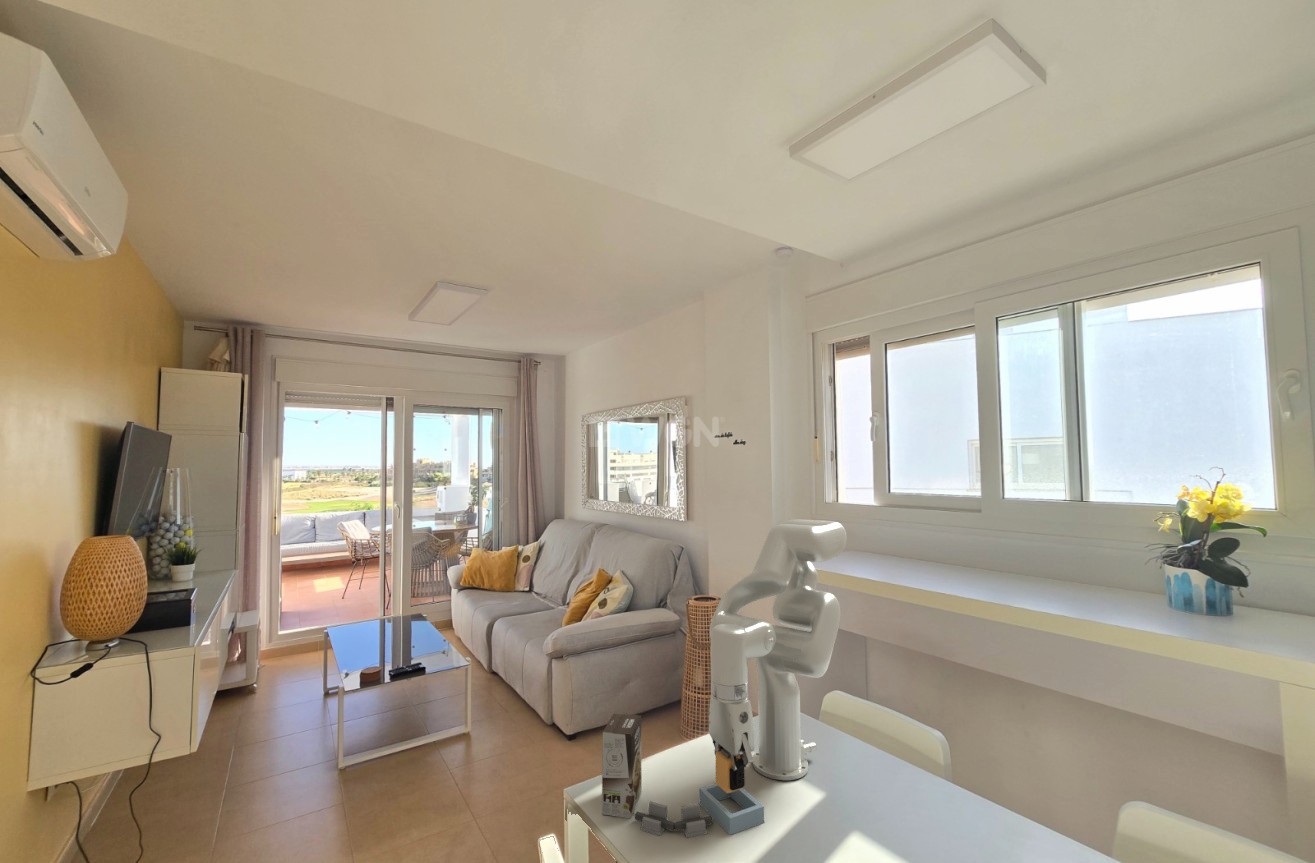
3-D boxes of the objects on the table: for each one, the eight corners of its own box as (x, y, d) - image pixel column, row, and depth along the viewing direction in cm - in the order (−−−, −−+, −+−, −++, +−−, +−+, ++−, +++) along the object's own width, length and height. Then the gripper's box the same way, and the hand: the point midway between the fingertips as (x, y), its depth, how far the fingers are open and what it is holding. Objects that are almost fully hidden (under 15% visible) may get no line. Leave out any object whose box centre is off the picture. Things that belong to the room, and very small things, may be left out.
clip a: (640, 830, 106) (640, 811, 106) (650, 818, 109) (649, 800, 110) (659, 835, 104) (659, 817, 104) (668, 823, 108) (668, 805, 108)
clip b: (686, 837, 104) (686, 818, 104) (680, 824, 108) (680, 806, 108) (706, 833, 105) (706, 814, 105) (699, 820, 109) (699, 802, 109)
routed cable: (712, 820, 108) (712, 815, 108) (712, 833, 104) (712, 827, 104) (635, 816, 109) (635, 811, 109) (632, 828, 105) (632, 823, 105)
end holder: (731, 792, 118) (731, 778, 118) (764, 822, 108) (764, 806, 108) (699, 803, 114) (699, 788, 114) (730, 835, 104) (730, 818, 105)
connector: (732, 778, 114) (731, 743, 114) (743, 788, 110) (743, 752, 111) (715, 783, 112) (715, 748, 112) (727, 793, 108) (726, 757, 109)
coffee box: (632, 819, 109) (632, 734, 110) (600, 815, 110) (601, 731, 111) (642, 792, 118) (642, 714, 119) (613, 789, 119) (613, 712, 120)
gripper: (770, 700, 107) (771, 799, 106) (721, 672, 122) (722, 758, 120) (738, 707, 103) (739, 810, 102) (692, 677, 118) (692, 767, 117)
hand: (730, 781), depth 111 cm, fingers closed on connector, 4 cm apart
